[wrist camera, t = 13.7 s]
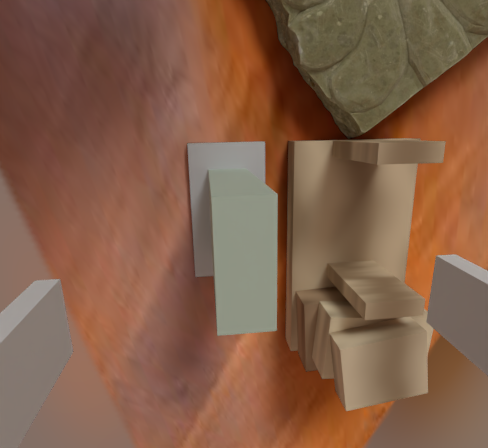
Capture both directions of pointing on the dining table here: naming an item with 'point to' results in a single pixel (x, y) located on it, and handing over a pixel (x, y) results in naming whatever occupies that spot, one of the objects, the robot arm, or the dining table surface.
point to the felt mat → (199, 164)
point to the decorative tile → (375, 50)
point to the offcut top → (379, 362)
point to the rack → (353, 223)
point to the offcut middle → (341, 318)
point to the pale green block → (243, 251)
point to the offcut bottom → (311, 319)
